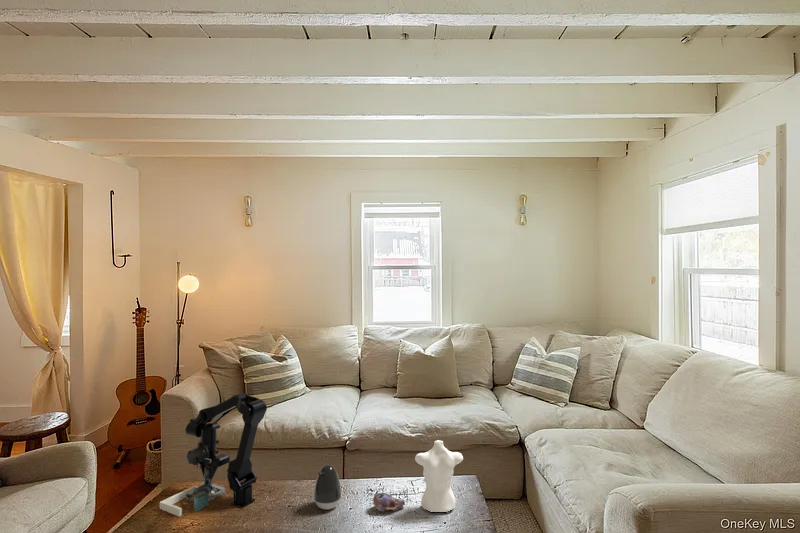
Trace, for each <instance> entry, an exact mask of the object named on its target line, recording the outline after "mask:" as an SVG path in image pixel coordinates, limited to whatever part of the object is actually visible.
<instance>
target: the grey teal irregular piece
mask: <svg viewBox="0 0 800 533" xmlns="http://www.w3.org/2000/svg"><path fill="white" fill-rule="evenodd" d="M203 479H204V480H203V482H201V483H200V484H201V485H200V486H202V485H205V484H207V485H208V484H209V485H211V486H212V487H213V489H214V488H215V489H218V492H216V493H214V494H212V495H210V496H209V493H207V492H205V493H203V494H201V495H199V496H197V497H195V498H194V501H193V511H195V512H198V511H200V510H202V509H204V508H205V507H207V506H209V504H210V503H209V501H212V500H214V499H215V497H216V498H218V497H220V496H221V494H222V495H224V494H226V487H225V488H224V487H221V486H220V485H219V486H218V485H215V484H214V483H213V478H212V479H211V480H209V469H208V467H207V466H206V465H205V472H204V476H203ZM223 493H224V494H223ZM219 495H220V496H219ZM217 496H218V497H217ZM213 498H214V499H213Z"/></svg>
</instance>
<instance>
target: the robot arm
mask: <svg viewBox="0 0 800 533" xmlns="http://www.w3.org/2000/svg"><path fill="white" fill-rule="evenodd" d="M234 408H236V409H237V411H238V412H239V413H240V414H241V415H242V416H241V417H242V418H241V419H242V420H243V423H244V424H243V428H242V432H241V433H242V434H241V438H240V440H239V446H238V448H237V449H238V450H237V454H236V457H235V459H233V460H231V456H230V455H229V454H226V453H221V454H219V453H220V452H219V449H217V444H219V442H220V441H219V440H218V439H217V430H218V429H220V428H221V425H220V424H219V423H218V422H217V420H218V419H220V418H221V417H223V414H224V413H227V412H228V411H230V410H233V409H234ZM267 410H268V406H267V404H266V402H265V401H264V400H263V399H260V398H258V397H255V396H251V395H249V394H247V393H245V392H241V393H237V394H234V395H233V396H232V397H230V398H228V399H225V400H224V401H222V402H220V403H218V404H216V405H213V406H212V405H211V406H208V407H206V408H205V407H204V408H202V409H200V410H199V411H198V415H197V417H193V418H191V419H189V422H188V424H187V425H186V427H185V434H186V436H190V437H195V438H200V442H198V444H197V447H196V448H193V449H190V450H189V451H188V453H187V454H186V459H187V462H188V464H190V465H193V466H196V465H199V468H200V471H201V473H202V477H204V472H205V465H206V466H207V467H208V469H209V480H211V479H212V480H213V478H214V477H215V474H216V472H217V470H218V468H219V467H222V466H224V465H226V464H228V468H227V469H226V472H227V480H228V485H229V489H230V490H231V491H232V492H233V500H232V501H231V502H230V504H231V505H232V506H233V505H234V506H236V507H239V508H245V507H246V506H248V505H249V504H252V503H253V502H254V501H256V498H253V484H255V483H257V479H258V477H257V476H256V474H255V472H254V470H253V469H252V467H253V463H252V461H251V456H252V451H253V446H254V442H255V438H256V435H257V430H258V426H259V425H260V423H261V421H262V420H263V419H264V418H265V415H266V413H267ZM214 421H215V422H214ZM217 454H218V455H217Z"/></svg>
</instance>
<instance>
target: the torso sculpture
mask: <svg viewBox="0 0 800 533" xmlns="http://www.w3.org/2000/svg"><path fill="white" fill-rule="evenodd" d="M414 460H415V462H416V463H417V464H418V465H420V466H422V467H423V471H422V475H423V477H424V480H425V490H424V492H423V494H422V497H421V499H420V506H421V508H422V509H423V510H425V509H426V510H428V511H432V512H445V511H450V510H452V509H453V508H454V509H455V508H456V504H457V503H456V497H455V495H454V492H453V489H452V487H451V485H452V479H453V476H454V468H455V467H456V466H457V465H458V464H460V463H461V462H463V460H464V456H463V454H462V453H461V452H458V451H450V450H449V449H448V448H447V447H445V446H444V441H443V440H440V439H437V440H434V443H433V446H432V448H430V450H428V451H426V452H419V453H417V454H416V455H415V457H414ZM454 509H453V510H454ZM426 510H425V511H426ZM453 510H452V511H453ZM428 511H427V512H428Z"/></svg>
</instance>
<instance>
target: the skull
mask: <svg viewBox="0 0 800 533" xmlns="http://www.w3.org/2000/svg"><path fill="white" fill-rule="evenodd" d="M372 501H373V502H372V505H373V506H374V508H376V509H377V511H379V512H386V511H389V510H391V511H394V512H395V510H396V511H398V510H401V507H402V508H404V506H405V503H406V501H405V500H404V499H403V498H395V497H394V496H393V495H390V494H389V493H386V492H380V493H379V492H378V493H375V494H374V496H373V498H372Z"/></svg>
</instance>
